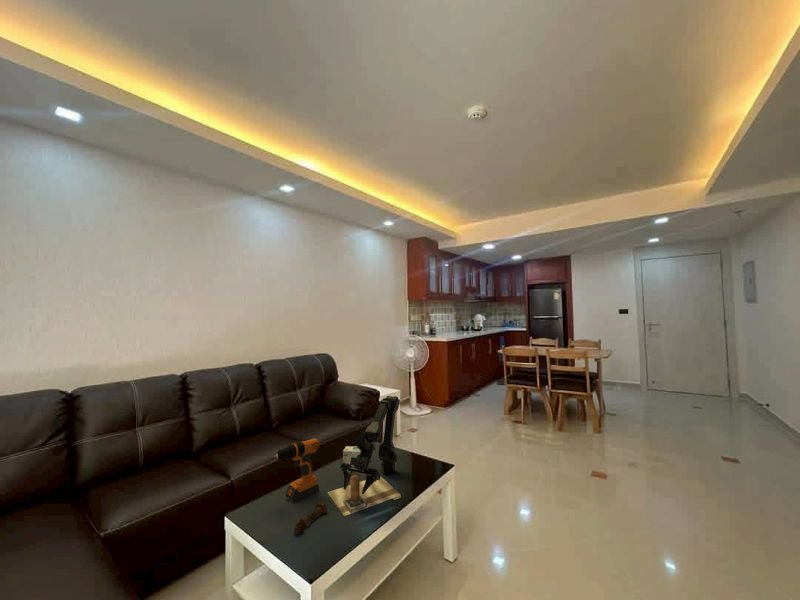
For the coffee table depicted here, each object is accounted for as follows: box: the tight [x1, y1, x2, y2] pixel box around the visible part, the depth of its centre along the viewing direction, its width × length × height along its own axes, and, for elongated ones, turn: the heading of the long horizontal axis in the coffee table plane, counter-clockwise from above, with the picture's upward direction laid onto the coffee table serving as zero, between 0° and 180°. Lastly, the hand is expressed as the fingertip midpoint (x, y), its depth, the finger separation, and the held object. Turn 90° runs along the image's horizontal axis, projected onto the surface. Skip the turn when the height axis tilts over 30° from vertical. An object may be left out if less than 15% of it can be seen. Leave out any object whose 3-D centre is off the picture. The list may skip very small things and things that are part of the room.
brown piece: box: [349, 474, 361, 507], centre depth 144 cm, size 4×4×12 cm
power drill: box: [273, 438, 320, 502], centre depth 153 cm, size 22×7×25 cm, turn 134°
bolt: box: [293, 501, 328, 535], centre depth 134 cm, size 6×5×15 cm
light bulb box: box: [342, 445, 361, 468], centre depth 180 cm, size 11×7×11 cm, turn 84°
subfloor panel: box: [327, 476, 402, 517], centre depth 153 cm, size 28×21×3 cm
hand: (353, 491), depth 143 cm, fingers open, 9 cm apart
